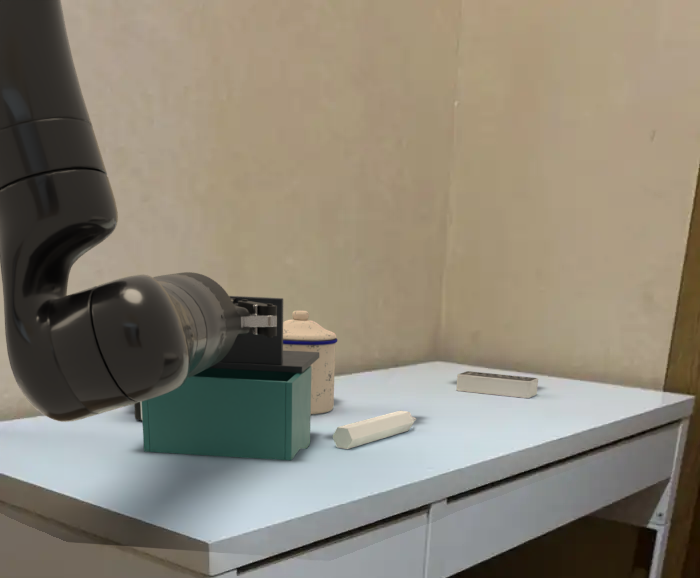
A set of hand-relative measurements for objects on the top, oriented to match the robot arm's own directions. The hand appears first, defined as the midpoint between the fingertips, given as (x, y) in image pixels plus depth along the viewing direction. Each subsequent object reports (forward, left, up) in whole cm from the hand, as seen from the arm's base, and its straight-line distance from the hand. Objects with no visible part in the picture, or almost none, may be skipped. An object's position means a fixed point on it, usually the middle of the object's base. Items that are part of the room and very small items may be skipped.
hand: (228, 310), depth 87 cm
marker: (+14, +12, -14) cm, 23 cm away
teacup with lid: (+3, +25, -14) cm, 29 cm away
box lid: (0, +6, -5) cm, 8 cm away
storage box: (0, 0, -14) cm, 14 cm away
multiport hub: (+28, +49, -14) cm, 58 cm away
